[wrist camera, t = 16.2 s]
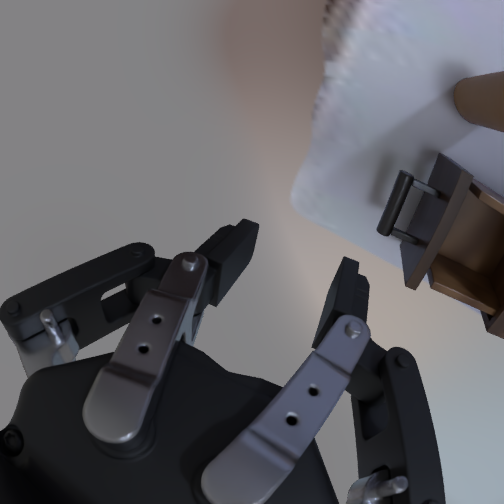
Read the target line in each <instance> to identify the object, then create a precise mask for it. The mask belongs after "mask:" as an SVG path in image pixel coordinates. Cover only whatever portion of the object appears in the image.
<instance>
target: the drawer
mask: <svg viewBox="0 0 504 504" xmlns="http://www.w3.org/2000/svg"><path fill="white" fill-rule="evenodd" d="M473 177H474V176H473V175H471V174H470V173H469V172H468V171H466V170H465V169H464V168H462V167H461V166H460V165H459V164H457V163H456V162H454V161H453V160H452V159H450V158H449V157H447V156H445V155H443V154H441V153H439V154H438V157H437V160H436V163H435V165H434V168H433V171H432V173H431V176H430V179H429V181H428V184H425V183H423V182H421V181H419V180H417V179H414V176H413V175H412V174H410V173H408V172H406V171H403V170H400V171H399V174H398V176H397V179H396V182H395V184H394V187H393V190H392V192H391V195H390V197H389V200H388V202H387V205H386V207H385V210H384V212H383V215H382V217H381V219H380V222H379V224H378V226H377V232H378V233H380V234H381V235H383V236H389V235H390V234H391V235H393V236H395V237H397V238H400V239H402V242H401V244H400V250H401V257H402V264H403V272H404V281H405V286H406V287H408V288H411V289H413V290H416V288H417V287H418V286H419V284H420V282H421V281H422V279H423V278H424V276H425V274H426V273H427V275H428V279H429V284H430V288H431V289H434V290H436V291H438V292H440V293H443V294H445V295H447V296H450V297H452V298H454V299H456V300H459V301H461V302H463V303H465V304H468V305H470V306H472V307H474V308H477V309H479V310H481V311H483V312H485V313H487V314H490V315H492V316H494V315H495V314H496V312H497V311H498V310H499V308H500V307H501V306H502V304H503V303H504V197H502V196H501V195H499V194H498V193H496V192H495V191H493V190H492V189H490V188H489V187H487V186H485V185H484V184H482V183H480V182H479V181H477V180H475V179H474V178H473ZM411 185H412V186H414V187H416V188H418V189H420V190H422V191H424V193H423V196H422V198H421V201H420V203H419V205H418V208H417V210H416V212H415V214H414V217H413V219H412V221H411V223H410V225H409V227H408V230H407V232H404V231H401V230H399V229H397V228H394V225H395V223H396V220H397V218H398V216H399V213H400V211H401V209H402V206H403V204H404V202H405V199H406V197H407V194H408V192H409V189H410V187H411Z"/></svg>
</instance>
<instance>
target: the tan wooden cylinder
mask: <svg viewBox="0 0 504 504" xmlns="http://www.w3.org/2000/svg"><path fill="white" fill-rule="evenodd" d="M454 102H455V105H456V108H457V110H458V112H459V113H460V114H461V116H462V117H463V118H464V119H465V120H467V121H468V122H470V123H472V124H476V125H480V126H483V127H487V128H491V129H494V130H497V131H501V132H504V71H503V72H496V73H491V74H485V75H480V76H474V77H469V78H465V79H462V80H461V81H459V82H458V83H457V85H456V87H455V90H454Z"/></svg>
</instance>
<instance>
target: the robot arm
mask: <svg viewBox="0 0 504 504" xmlns="http://www.w3.org/2000/svg"><path fill="white" fill-rule="evenodd" d="M258 230H259V224H258V223H255V222H252V221H250V220H247V219H242V220H241V221H240V223H238V224H237V225H236V226H232V225H227V226H224V227H221V228H220V229H219V230H218V231H217V232H215V234H213V235H212V236H211V237H210V239H208V240H206V241H205V242H204V243H203V244H202V245H201V246H200V247H199V248H198V249H197V250H196V251H195V252H183V253H180V254H178V255H176V256H175V257H174V258H173V260H172V259H165V258H159V257H155V251H154V249H153V247H152V246H150V245H149V244H146V243H141V242H137V243H131V244H129V245H126V246H124V247H121V248H119V249H117V250H114V251H112V252H109V253H107V254H104V255H102V256H100V257H97V258H95V259H93V260H90V261H88V262H85V263H83V264H81V265H79V266H77V267H74V268H72V269H70V270H67V271H65V272H63V273H61V274H58V275H56V276H54V277H52V278H50V279H48V280H45V281H43V282H41V283H39V284H37V285H35V286H33V287H31V288H28V289H26V290H24V291H22V292H20V293H18V294H16V295H14V296H12V297H10V298H8V299H7V300H6V301H5V302H4V303H3V304H2V306H1V308H0V320H1V322H2V324H3V325H4V327H5V329H6V330H7V332H8V335H9V337H10V338H11V340H12V341H13V343H14V344H15V346H16V347H17V350H18V353H19V356H20V359H21V362H22V364H23V367H24V370H25V372H26V375H27V377H28V379H27V380H26V382H25V383H24V385H23V387H22V389H21V392H20V396H19V400H18V404H17V407H16V410H15V412H14V415H13V417H12V419H11V421H10V423H9V424H8V425H7V426H6V428H4V429H3V430H1V431H0V504H339V502H338V499H337V497H336V494H335V492H334V489H333V486H332V484H331V481H330V478H329V476H328V473H327V470H326V467H325V465H324V462H323V459H322V457H321V454H320V452H319V449H318V446H317V443H316V441H315V438H314V437H315V435H316V434H317V433H318V431H319V430H320V428H321V427H322V425H323V424H324V422H325V421H326V419H327V418H328V416H329V415H330V413H331V411H332V410H333V408H334V407H335V405H336V403H337V402H338V400H339V398H340V397H341V395H342V394H343V392H344V390H346V391H347V392H349V393H350V394H351V402H352V409H353V418H354V427H355V437H356V448H357V459H358V474H359V479H358V480H357V481H356V482H354V483H353V484H352V486H351V487H350V489H349V492H348V497H347V502H346V504H446V502H445V493H444V483H443V476H442V469H441V462H440V457H439V451H438V446H437V440H436V435H435V431H434V426H433V422H432V417H431V413H430V409H429V405H428V401H427V397H426V394H425V390H424V387H423V383H422V380H421V376H420V373H419V370H418V366H417V363H416V361H415V359H414V357H413V356H412V354H411V353H410V352H408V351H407V350H405V349H403V348H400V347H393V348H391V349H389V350H388V351H386V350H385V349H383V348H381V347H380V346H379V345H377V344H376V343H375V342H374V341H372V339H371V338H370V336H371V333H370V329H369V327H368V325H367V324H366V321H367V311H368V299H369V288H370V286H369V283H368V280H367V278H366V277H365V276H363V275H360V274H358V269H359V262H358V261H355V260H352V259H350V258H347V257H343V259H342V262H341V264H340V266H339V268H338V271H337V273H336V275H335V277H334V280H333V281H332V284H331V286H330V289H329V291H328V294H327V298H326V301H325V305H324V308H323V312H322V315H321V318H320V322H319V325H318V328H317V331H316V335H315V338H314V341H313V344H312V348H314V349H315V351H312V353H311V354H310V355H309V356H308V357H307V359H306V360H305V361H304V363H303V364H302V365H301V366H300V368H299V369H298V370H297V371H296V373H295V374H294V375H293V376H292V377H291V379H290V380H289V381H288V382H287V383H286V385H285V386H284V387H281V386H278V385H276V384H273V383H271V382H269V381H266V380H264V379H261V378H256V377H251V376H246V375H241V374H236V373H232V372H228V371H227V370H225V369H224V368H223V367H221V366H220V365H219V364H218V363H216V362H215V361H214V360H213V359H211V358H210V357H209V356H208V355H206V354H205V353H204V352H202V351H200V350H198V349H196V348H195V347H193V345H194V342H195V339H196V336H197V333H198V329H199V327H200V324H201V321H202V318H203V314H204V309H205V308H206V306H207V305H208V304H210V305H213V306H215V307H217V305H218V304H219V303H220V301H221V300H222V299H223V297H224V296H225V295H226V293H227V292H228V291H229V289H230V288H231V287H232V285H233V284H234V283H235V281H236V280H237V279H238V277H239V276H240V275H241V273H242V272H243V270H244V269H245V268H246V266H247V265H248V264H249V262H250V260H251V258H252V255H253V252H254V248H255V243H256V239H257V234H258ZM123 283H125V285H126V289H124V290H122V291H120V292H118V293H116V294H114V295H112V296H110V297H108V298H106V299H103V300H101V297H102V295H103V294H104V293H105V292H107V291H109V290H111V289H113V288H115V287H117V286H119V285H121V284H123ZM128 323H129V325H128V327H127V329H126V331H125V333H124V334H123V336H122V338H121V340H120V342H119V344H118V346H117V348H116V350H115V352H111V353H107V354H103V355H99V356H95V357H91V358H86V359H82V360H78V361H76V358H75V357H76V355H77V354H78V351H79V350H80V349H82V348H84V347H86V346H88V345H89V344H91V343H93V342H95V341H97V340H98V339H100V338H102V337H104V336H106V335H108V334H109V333H111V332H113V331H115V330H117V329H119V328H120V327H122V326H124V325H126V324H128Z"/></svg>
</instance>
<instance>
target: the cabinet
mask: <svg viewBox="0 0 504 504" xmlns="http://www.w3.org/2000/svg"><path fill="white" fill-rule="evenodd" d="M480 311H481V310H480ZM481 314H482V318H483V321H484V324H485V328H486V331H487V332H489V333H491V334H493V335H496V336H498V337H500V338H503V339H504V303H503V304H502V306H501V307H500V308H499V310H498V311H497V312H496V314H495V315H494V316H492V315H490V314H487V313H485V312H483V311H481Z"/></svg>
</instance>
